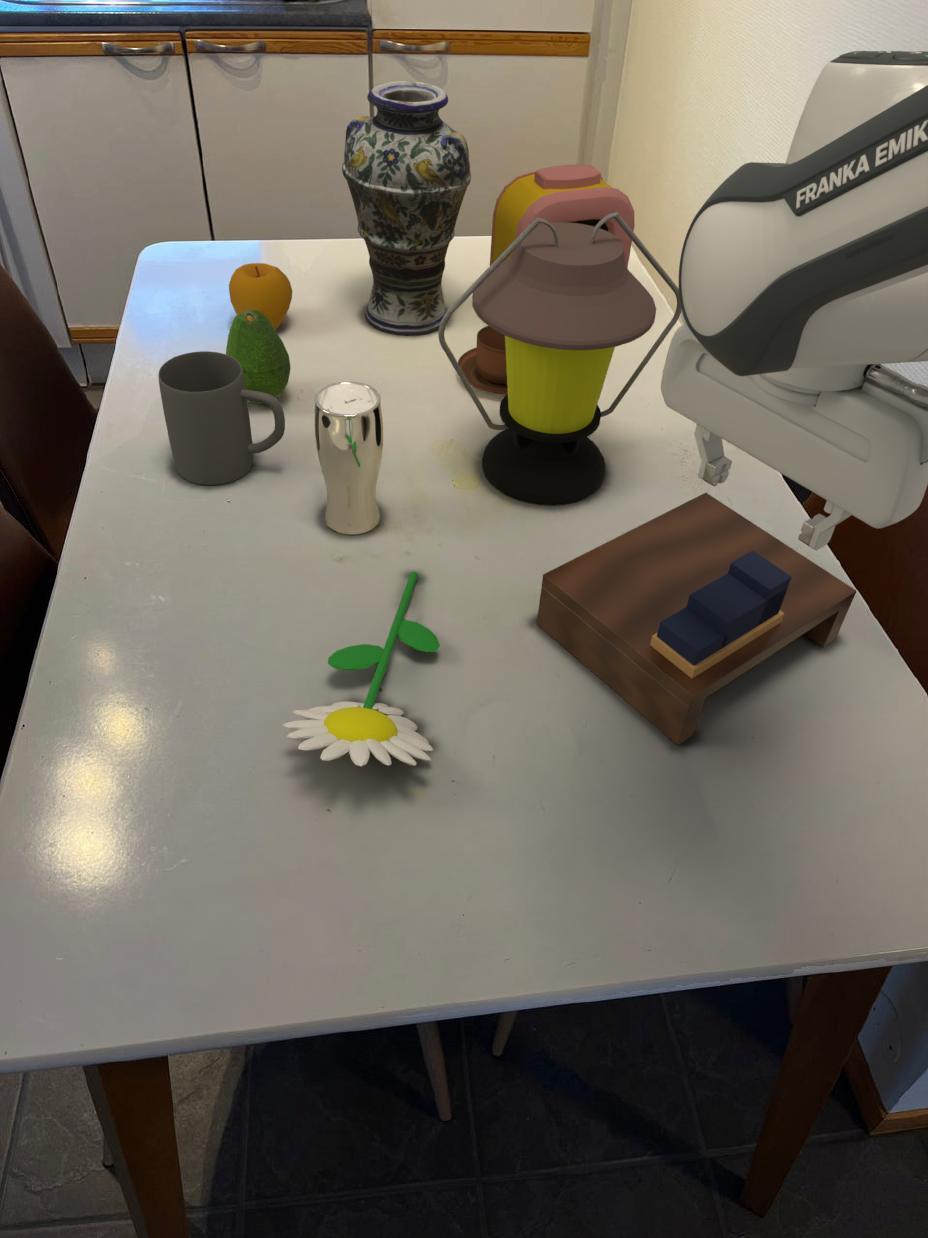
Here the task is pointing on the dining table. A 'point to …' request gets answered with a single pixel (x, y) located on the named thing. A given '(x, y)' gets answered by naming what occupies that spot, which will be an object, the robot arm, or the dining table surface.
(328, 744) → the decorative flower
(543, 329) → the lantern
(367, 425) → the beer glass
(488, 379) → the cup and saucer
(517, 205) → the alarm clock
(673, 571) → the brown wooden stand
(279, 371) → the fruit
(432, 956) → the dining table surface
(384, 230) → the vase
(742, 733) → the dining table surface
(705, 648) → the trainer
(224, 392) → the mug
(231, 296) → the apple
